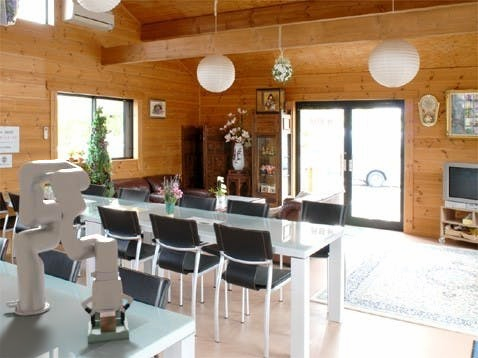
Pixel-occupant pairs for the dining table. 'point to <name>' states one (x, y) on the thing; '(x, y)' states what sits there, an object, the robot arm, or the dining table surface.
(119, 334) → the rest tray
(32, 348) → the dining table surface
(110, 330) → the walnut block
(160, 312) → the dining table surface
